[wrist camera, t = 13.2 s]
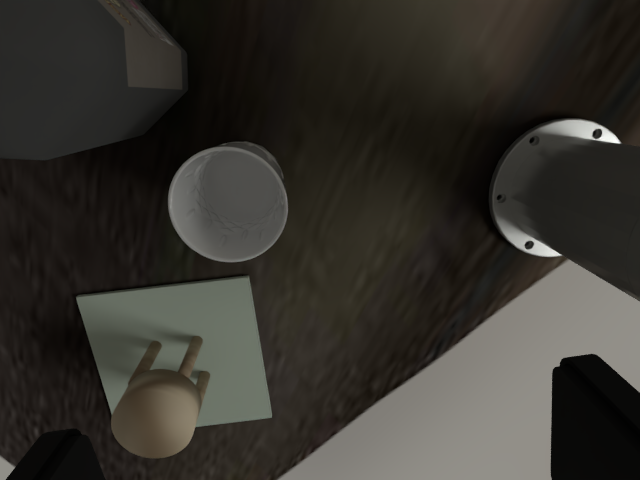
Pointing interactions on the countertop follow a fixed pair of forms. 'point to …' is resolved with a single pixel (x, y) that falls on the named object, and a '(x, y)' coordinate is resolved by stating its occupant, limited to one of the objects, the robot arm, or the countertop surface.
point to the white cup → (229, 201)
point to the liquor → (82, 75)
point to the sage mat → (183, 341)
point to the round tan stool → (160, 405)
